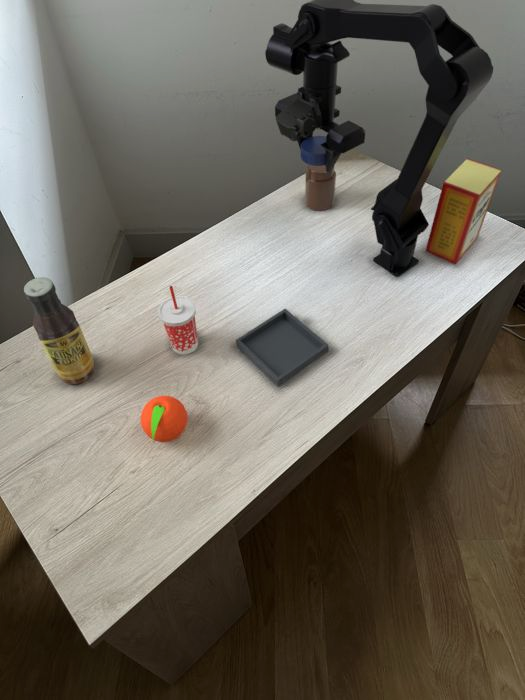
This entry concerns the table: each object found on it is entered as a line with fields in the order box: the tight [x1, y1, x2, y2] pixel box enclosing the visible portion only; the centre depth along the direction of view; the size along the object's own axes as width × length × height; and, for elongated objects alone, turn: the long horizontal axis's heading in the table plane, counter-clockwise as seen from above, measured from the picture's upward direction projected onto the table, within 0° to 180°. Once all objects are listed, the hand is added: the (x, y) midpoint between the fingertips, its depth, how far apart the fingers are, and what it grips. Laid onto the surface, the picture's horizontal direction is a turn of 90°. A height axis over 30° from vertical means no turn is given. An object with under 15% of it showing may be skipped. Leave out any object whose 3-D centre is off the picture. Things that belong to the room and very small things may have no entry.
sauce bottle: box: [23, 276, 95, 385], centre depth 80 cm, size 7×6×20 cm
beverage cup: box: [157, 285, 199, 355], centre depth 85 cm, size 6×6×14 cm
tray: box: [235, 308, 329, 388], centre depth 89 cm, size 11×11×2 cm
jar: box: [304, 164, 337, 212], centre depth 111 cm, size 6×6×9 cm
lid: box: [300, 135, 327, 166], centre depth 99 cm, size 7×7×2 cm
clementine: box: [140, 395, 188, 443], centre depth 77 cm, size 8×7×7 cm
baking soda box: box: [425, 158, 503, 265], centre depth 98 cm, size 10×6×16 cm
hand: (316, 164), depth 101 cm, fingers closed on lid, 6 cm apart
